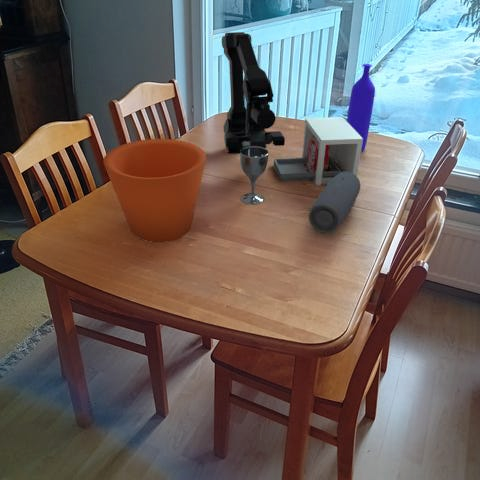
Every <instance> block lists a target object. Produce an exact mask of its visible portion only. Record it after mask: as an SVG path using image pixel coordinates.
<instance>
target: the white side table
mask: <svg viewBox="0 0 480 480" xmlns="http://www.w3.org/2000/svg"><path fill="white" fill-rule="evenodd" d="M303 133H304V135H303V143H302V154H301V158H307V155H308V146H309V141H310V140H311V137H312V136H315V137H316V139H317V140H318V141H319V143H320V145H319V153H318V162H317V170H316V178H315V180H314V184H315V185H316V186H321V185H322V184H328V183H329V182H330V181H331V180H332V179H333V178H334V177H332V178H322V172H323V164H324V156H325V148H326V145H330V154H329V157H331V158H332V159H333V160H334V162H335V163H336V165H337V166H338V167H339V169H340V170H341V171H342V172H351V173H353V174H355V175H356V176H357V177H358V172H359V165H360V159H361V155H362V151H361V149H362V143H363V138H362V137H361V136H360V135H359V134H358V133H357V132H356V131H355V130H354V129H353V128H352V126H351V125H350V124H349V123H348V122H347V119H345V118H344V116H342V117H341V116H339V117H338V116H336V117H335V116H333V117H331V116H330V117H305V118H304V132H303Z"/></svg>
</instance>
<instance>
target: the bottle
mask: <svg viewBox="0 0 480 480" xmlns="http://www.w3.org/2000/svg"><path fill="white" fill-rule="evenodd" d="M362 66H363V72H362V76H361V77H360V78H359V79H358V80H357V81H356V82H355V83H354V84H353V85H352V88H351V93H350V96H349V98H350V99H349V104H348V110H347V116H346V121H347V122H348V123H349V124H350V125H351V126H352V128H353V129H354V130H355V131H356V132H357V133H358V134H359V135H360V136H361V137H362V138H363V143H362V149H361V152H363V151H364V150H365V149H366V146H367V142H368V136H369V132H370V125H371V120H372V114H373V107H374V101H375V95H376V93H375V92H376V87H375V84H374V83H373V81H372V80H371V78H370V69H371V68H372V67H373V65H372V64H371V63H363V64H362Z"/></svg>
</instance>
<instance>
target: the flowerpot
mask: <svg viewBox="0 0 480 480" xmlns="http://www.w3.org/2000/svg"><path fill="white" fill-rule="evenodd" d="M206 160H207V155H206V152H205V151H204V150H203V149H202V148H200V147H199V146H198V145H196V144H194V143H191V142H186V141H183V140H179V139H169V138H153V139H151V138H150V139H143V140H142V139H141V140H136V141H130V142H127V143H124V144H121V145H119V146H116V147H115V148H113V149H111V150H109V151H108V152H107V153H106V154H105V156H104V158H103V162H102V163H103V166H104V167H105V170H106V172H107V175H108V177H109V181H110V183H111V185H112V188H113V190H114V192H115V194H116V197H117V200H118V202H119V204H120V207H121V210H122V213H123V214H124V217H125V220H126V222H127V224H128V227H129V229H130V231H131V234H132V233H133V234H134V235H135V236H137V237H139V238H141V239H144V240H147V241H146V242H148V241H152V242H151V243H167V242H166V241H168V242H172V241H175V240H178V239H180V238H182V237H184V236H185V235H187V234H188V233H189V232H190V229H191V228H192V223H193V219H194V214H195V210H196V206H197V201H198V196H199V192H200V188H201V183H202V180H203V179H202V178H203V173H204V169H205V167H206V166H205V165H206ZM133 234H132V235H133ZM134 235H133V236H134ZM135 236H134V237H135ZM137 237H136V238H137ZM139 238H138V239H139ZM141 239H140V240H141ZM144 240H143V241H144ZM171 240H172V241H171Z"/></svg>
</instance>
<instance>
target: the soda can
mask: <svg viewBox="0 0 480 480" xmlns="http://www.w3.org/2000/svg"><path fill="white" fill-rule="evenodd" d="M319 145H320V143H319V141H318V140H317V139H316V137H315V136H312V137H311V140H310V141H309V146H308V155H307V166H306V169H307V171H308V172H316V170H317V162H318V153H319ZM329 154H330V145H326V148H325V156H324V164H323V172H324V171H328V169H329V165H328V162H329Z"/></svg>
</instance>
